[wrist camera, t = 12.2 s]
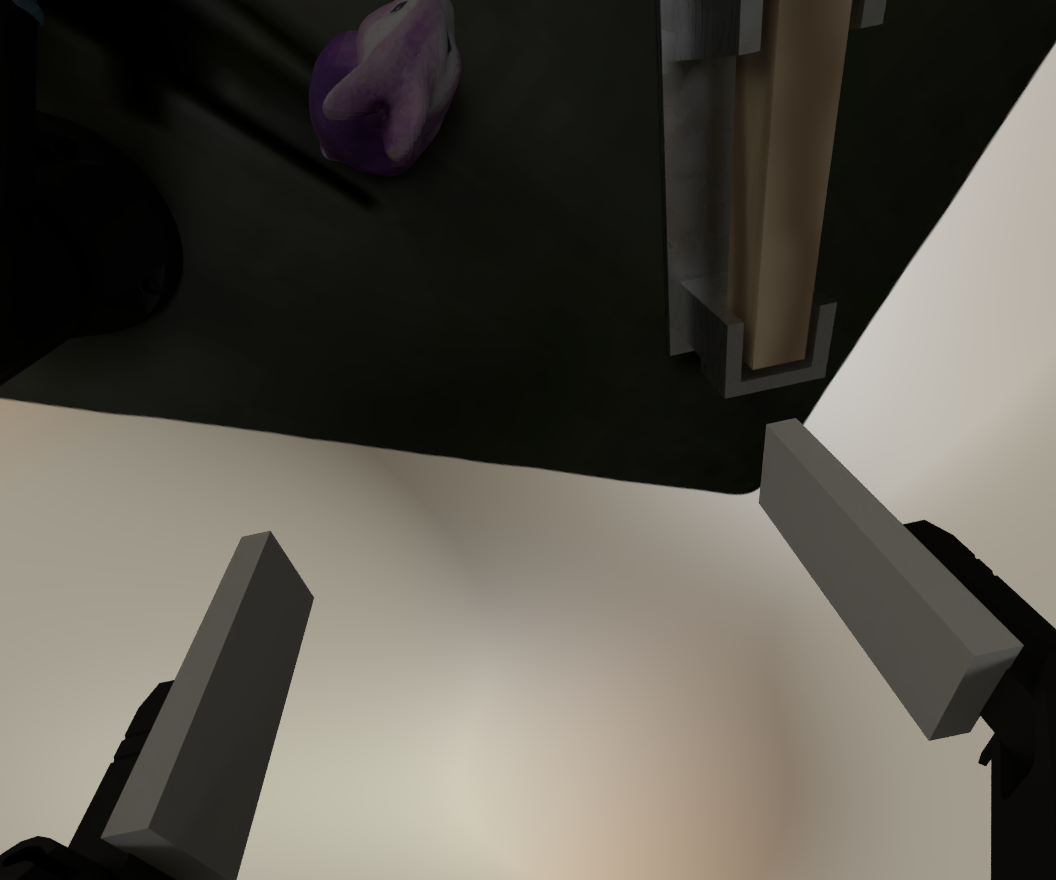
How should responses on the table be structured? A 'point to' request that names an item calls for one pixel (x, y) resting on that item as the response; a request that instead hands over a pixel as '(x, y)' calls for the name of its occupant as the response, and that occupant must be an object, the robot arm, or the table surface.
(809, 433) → the robot arm
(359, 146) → the figurine
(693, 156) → the bracket stand
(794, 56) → the rail
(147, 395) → the table surface
